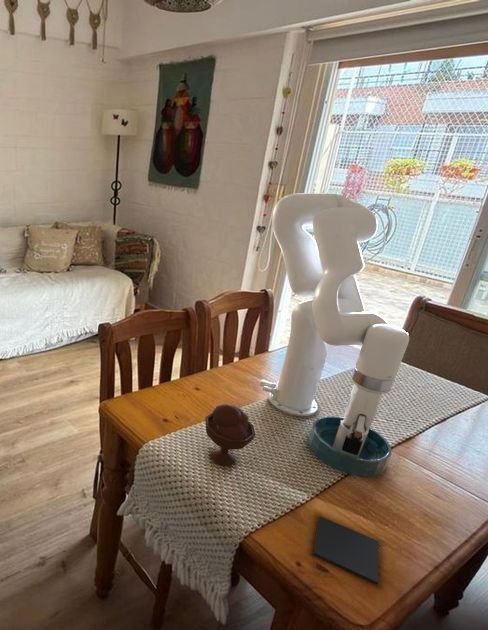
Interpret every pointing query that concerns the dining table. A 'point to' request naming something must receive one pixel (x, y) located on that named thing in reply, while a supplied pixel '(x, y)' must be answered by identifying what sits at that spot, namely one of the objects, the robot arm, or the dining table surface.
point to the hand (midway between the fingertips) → (350, 440)
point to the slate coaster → (347, 549)
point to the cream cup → (341, 436)
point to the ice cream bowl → (228, 432)
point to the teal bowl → (366, 465)
